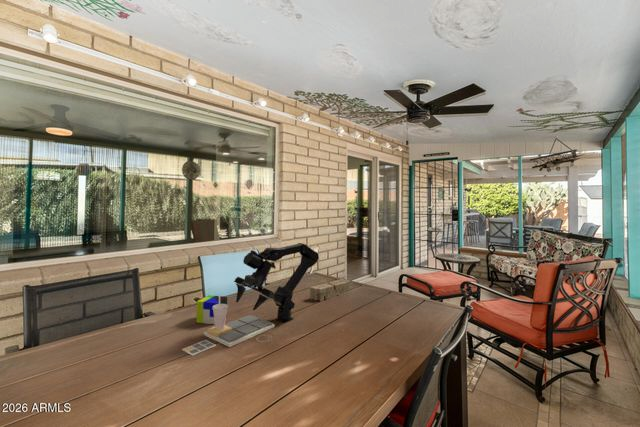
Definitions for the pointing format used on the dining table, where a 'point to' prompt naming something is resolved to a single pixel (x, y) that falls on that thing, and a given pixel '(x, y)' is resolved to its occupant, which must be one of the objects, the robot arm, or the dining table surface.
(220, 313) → the smoothie
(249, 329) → the button board
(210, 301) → the puzzle toy
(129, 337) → the dining table surface
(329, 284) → the tan stone block
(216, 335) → the amber button
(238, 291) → the robot arm
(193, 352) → the pattern card
